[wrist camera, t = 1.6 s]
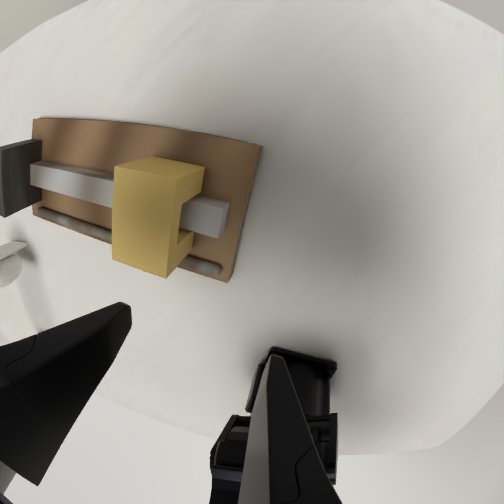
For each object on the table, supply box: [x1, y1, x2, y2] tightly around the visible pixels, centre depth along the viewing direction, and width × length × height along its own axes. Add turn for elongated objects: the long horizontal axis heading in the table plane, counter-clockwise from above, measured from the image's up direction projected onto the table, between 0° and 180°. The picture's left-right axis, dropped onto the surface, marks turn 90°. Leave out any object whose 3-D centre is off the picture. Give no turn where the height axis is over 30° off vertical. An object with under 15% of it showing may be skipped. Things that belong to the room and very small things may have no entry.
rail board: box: [0, 118, 261, 283], centre depth 18 cm, size 22×10×6 cm, turn 77°
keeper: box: [112, 156, 205, 279], centre depth 17 cm, size 4×6×4 cm, turn 167°
